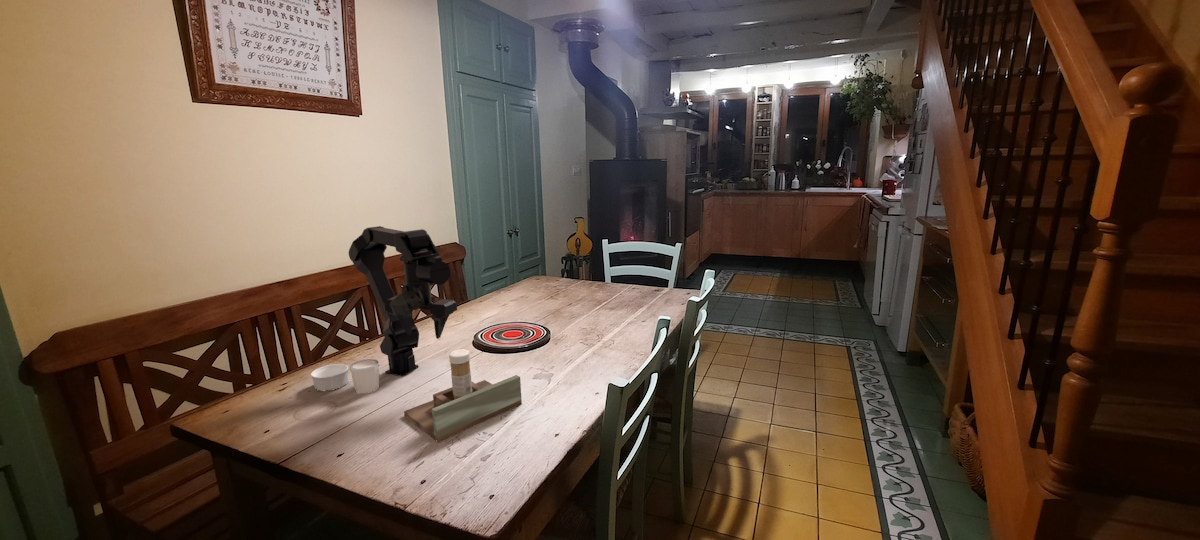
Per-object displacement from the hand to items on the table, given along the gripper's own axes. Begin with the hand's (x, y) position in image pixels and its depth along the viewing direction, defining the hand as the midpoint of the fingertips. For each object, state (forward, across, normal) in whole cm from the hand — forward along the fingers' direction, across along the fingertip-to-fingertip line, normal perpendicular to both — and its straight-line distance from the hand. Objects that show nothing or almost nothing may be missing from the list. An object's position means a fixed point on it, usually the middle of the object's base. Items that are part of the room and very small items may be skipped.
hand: (423, 336), depth 128 cm
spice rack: (+13, +18, -10) cm, 24 cm away
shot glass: (+13, -13, -8) cm, 20 cm away
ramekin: (+13, -24, -9) cm, 29 cm away
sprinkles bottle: (+12, +18, -10) cm, 24 cm away
